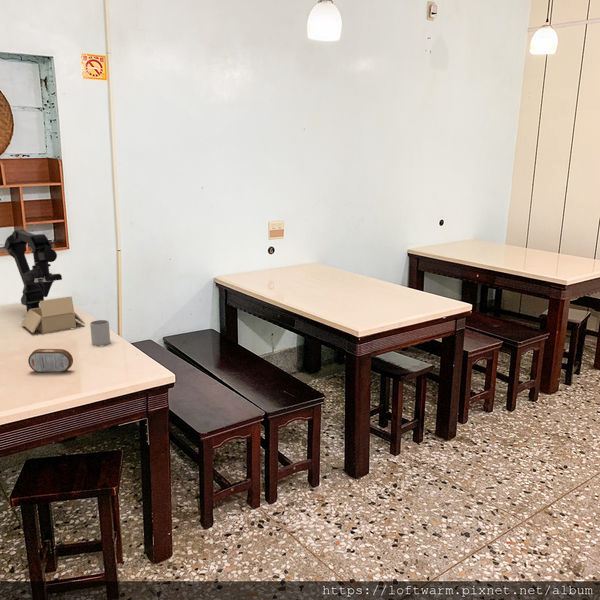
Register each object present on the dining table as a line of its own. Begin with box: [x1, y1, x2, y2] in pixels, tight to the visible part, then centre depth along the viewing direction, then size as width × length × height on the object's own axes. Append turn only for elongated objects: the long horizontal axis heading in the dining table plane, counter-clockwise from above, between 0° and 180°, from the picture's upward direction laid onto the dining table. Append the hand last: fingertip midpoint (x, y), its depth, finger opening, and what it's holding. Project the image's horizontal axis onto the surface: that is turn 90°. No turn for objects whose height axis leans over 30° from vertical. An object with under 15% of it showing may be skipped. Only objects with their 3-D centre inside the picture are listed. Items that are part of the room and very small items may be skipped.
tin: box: [27, 348, 74, 374], centre depth 212 cm, size 15×3×8 cm, turn 92°
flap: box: [39, 296, 75, 317], centre depth 258 cm, size 7×13×1 cm
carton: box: [21, 307, 86, 335], centre depth 268 cm, size 22×22×7 cm
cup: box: [89, 319, 111, 347], centre depth 245 cm, size 7×10×9 cm
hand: (45, 297), depth 269 cm, fingers closed
